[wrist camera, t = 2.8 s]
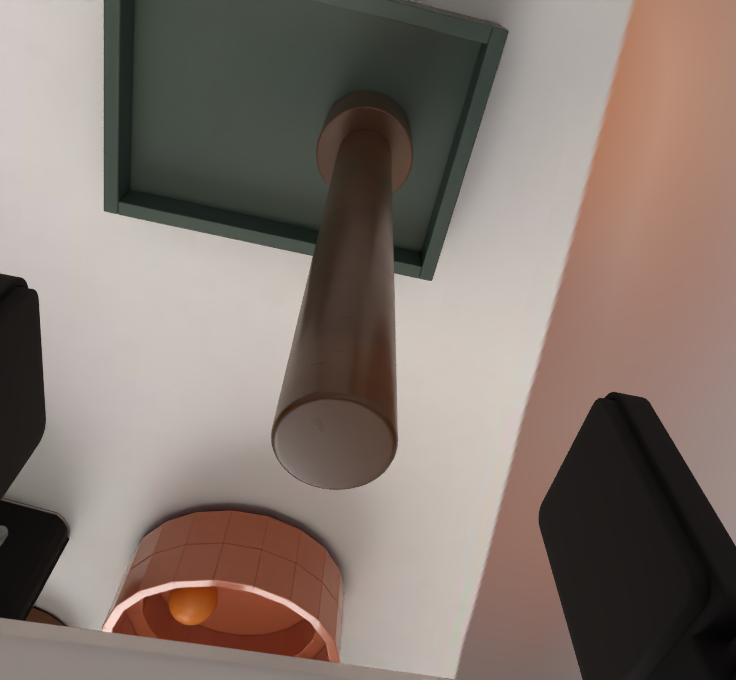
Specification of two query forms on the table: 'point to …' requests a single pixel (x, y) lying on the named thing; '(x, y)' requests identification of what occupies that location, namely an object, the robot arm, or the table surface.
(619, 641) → the robot arm
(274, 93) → the spoon tray
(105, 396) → the table surface
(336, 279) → the brown wooden rod
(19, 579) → the camera
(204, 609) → the ball
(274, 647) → the copper shallow cylinder
